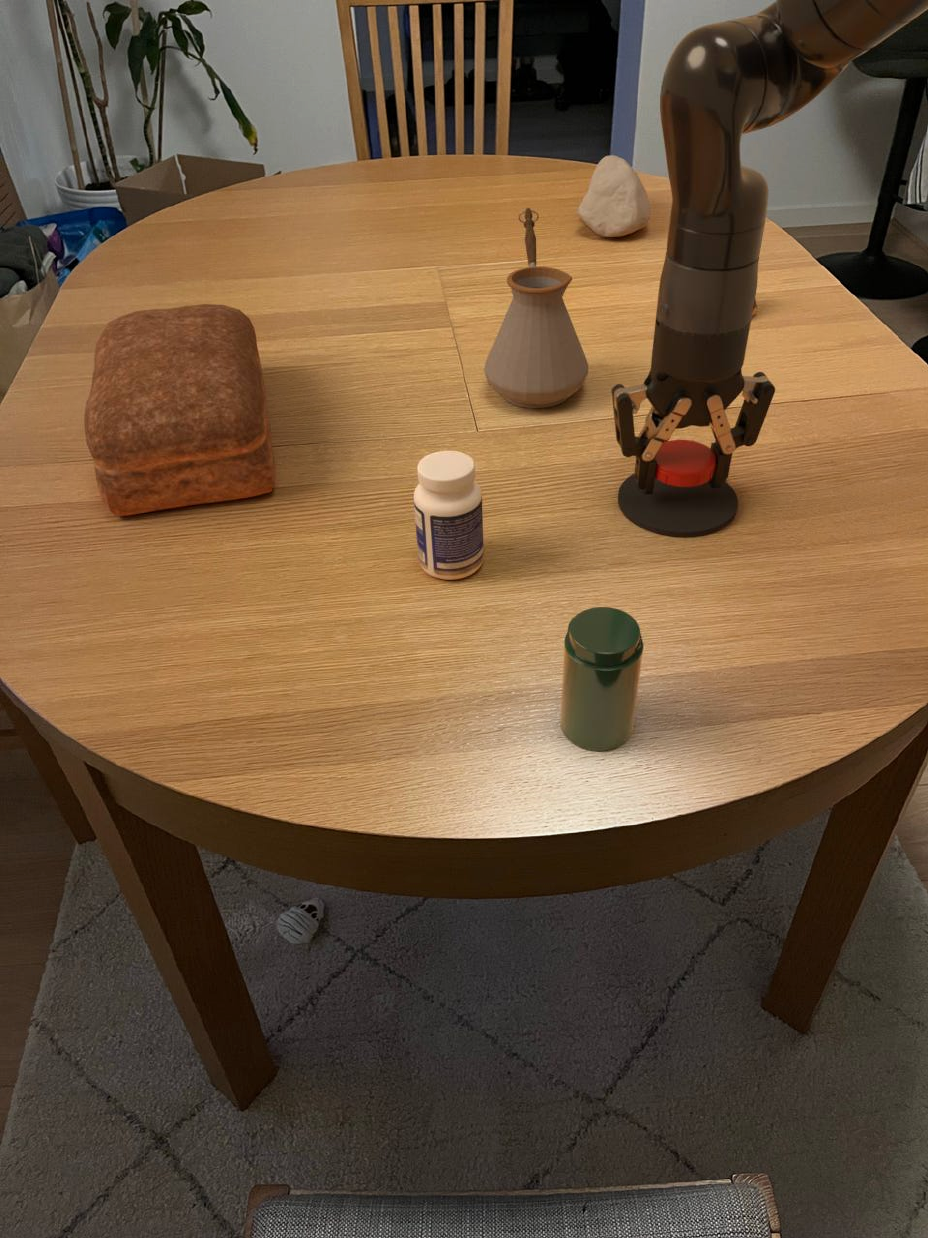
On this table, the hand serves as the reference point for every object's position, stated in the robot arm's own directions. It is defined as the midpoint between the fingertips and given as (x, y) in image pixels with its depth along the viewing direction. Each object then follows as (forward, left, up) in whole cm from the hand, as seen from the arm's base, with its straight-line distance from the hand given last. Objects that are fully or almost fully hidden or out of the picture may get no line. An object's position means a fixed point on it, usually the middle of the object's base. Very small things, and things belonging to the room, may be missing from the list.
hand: (679, 485), depth 86 cm
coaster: (0, 0, -2) cm, 2 cm away
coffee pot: (+22, -20, -2) cm, 30 cm away
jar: (-1, +29, -2) cm, 29 cm away
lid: (0, 0, +3) cm, 3 cm away
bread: (+51, +6, -2) cm, 51 cm away
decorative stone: (+28, -70, -2) cm, 75 cm away
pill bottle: (+16, +16, -2) cm, 23 cm away
